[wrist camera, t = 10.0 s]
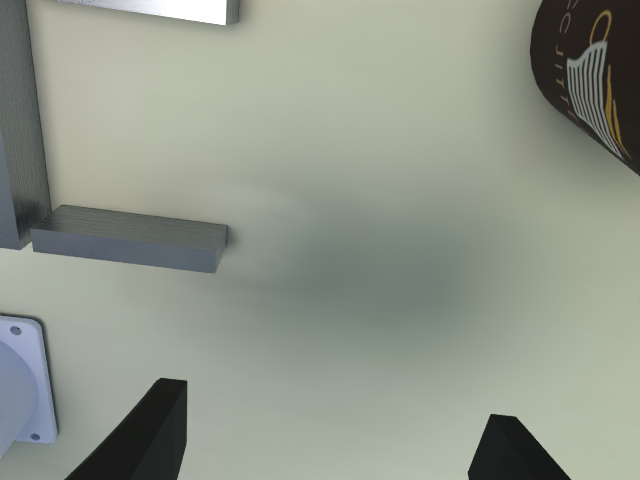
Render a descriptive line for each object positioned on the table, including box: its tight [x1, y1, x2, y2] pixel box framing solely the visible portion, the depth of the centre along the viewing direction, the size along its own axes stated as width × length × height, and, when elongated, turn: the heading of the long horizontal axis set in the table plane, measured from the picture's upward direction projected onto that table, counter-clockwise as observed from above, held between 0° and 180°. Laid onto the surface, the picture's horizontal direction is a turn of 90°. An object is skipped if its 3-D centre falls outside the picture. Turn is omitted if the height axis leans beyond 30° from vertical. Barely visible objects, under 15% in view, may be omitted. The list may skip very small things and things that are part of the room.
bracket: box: [0, 0, 239, 273], centre depth 17 cm, size 8×10×2 cm
